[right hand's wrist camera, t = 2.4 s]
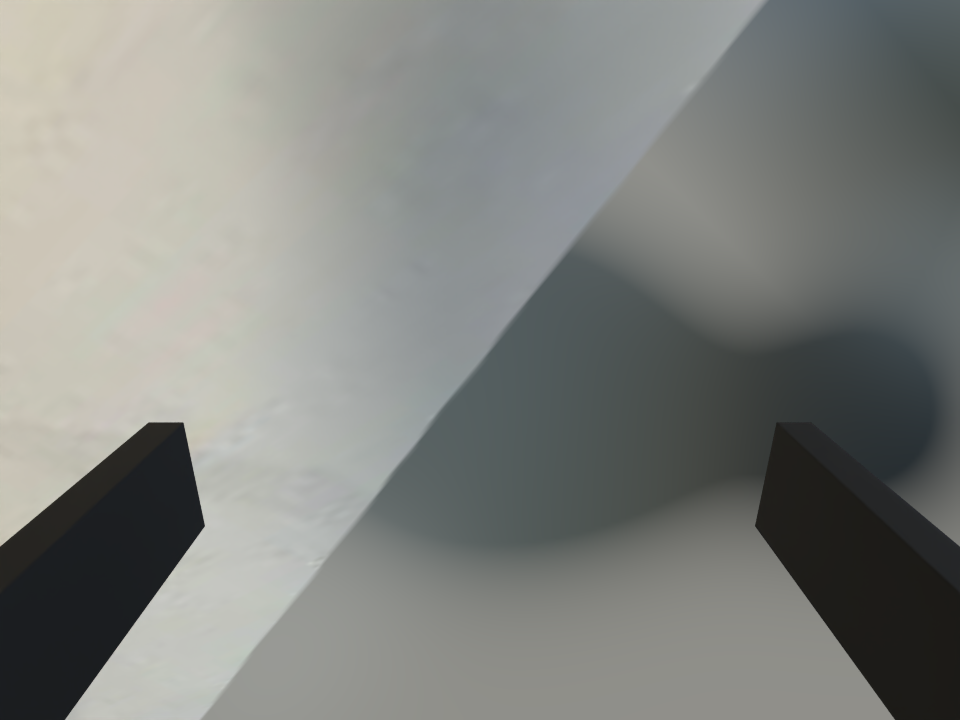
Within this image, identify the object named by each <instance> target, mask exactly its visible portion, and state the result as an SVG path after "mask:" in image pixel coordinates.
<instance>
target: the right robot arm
mask: <svg viewBox="0 0 960 720" xmlns="http://www.w3.org/2000/svg"><path fill="white" fill-rule="evenodd" d="M204 527H205V524H204V520H203V515H202V510H201V505H200V500H199V495H198V491H197V486H196V481H195V476H194V471H193V467H192V462H191V457H190V452H189V447H188V442H187V438H186V433H185V428H184V423H148V424H146V425H145V426H144V427H143V428H142V429H140V430H139V431H138V432H137V433H136V434H134V435H133V436H132V437H131V438H130V439H128V440H127V441H126V442H125V443H124V444H122V445H121V446H120V447H119V448H118V449H117V450H115V451H114V452H113V453H112V454H111V455H109V456H108V457H107V458H106V459H105V460H103V461H102V462H101V463H100V464H99V465H97V466H96V467H95V468H94V469H93V470H91V471H90V472H89V473H88V474H87V475H85V476H84V477H83V478H82V479H81V480H79V481H78V482H77V483H76V484H75V485H73V486H72V487H71V488H70V489H69V490H67V491H66V492H65V493H64V494H63V495H61V496H60V497H59V498H58V499H57V500H56V501H54V502H53V503H52V504H51V505H50V506H48V507H47V508H46V509H45V510H44V511H42V512H41V513H40V514H39V515H38V516H36V517H35V518H34V519H33V520H32V521H30V522H29V523H28V524H27V525H26V526H24V527H23V528H22V529H21V530H20V531H18V532H17V533H16V534H15V535H14V536H12V537H11V538H10V539H9V540H8V541H6V542H5V543H4V544H3V545H2V546H0V720H65V719H66V717H67V716H68V715H69V713H70V712H71V711H72V709H73V708H74V706H75V705H76V704H77V702H78V701H79V699H80V698H81V697H82V695H83V694H84V693H85V691H86V690H87V688H88V687H89V686H90V684H91V683H92V681H93V680H94V679H95V677H96V676H97V675H98V673H99V672H100V670H101V669H102V668H103V666H104V665H105V663H106V662H107V661H108V659H109V658H110V657H111V655H112V654H113V652H114V651H115V650H116V648H117V647H118V646H119V644H120V643H121V641H122V640H123V639H124V637H125V636H126V634H127V633H128V632H129V630H130V629H131V628H132V626H133V625H134V623H135V622H136V621H137V619H138V618H139V616H140V615H141V614H142V612H143V611H144V610H145V608H146V607H147V605H148V604H149V603H150V601H151V600H152V599H153V597H154V596H155V594H156V593H157V592H158V590H159V589H160V587H161V586H162V585H163V583H164V582H165V581H166V579H167V578H168V576H169V575H170V574H171V572H172V571H173V569H174V568H175V567H176V565H177V564H178V563H179V561H180V560H181V558H182V557H183V556H184V554H185V553H186V551H187V550H188V549H189V547H190V546H191V545H192V543H193V542H194V540H195V539H196V538H197V536H198V535H199V534H200V532H201V531H202V529H203V528H204ZM755 527H756V528H757V529H758V531H759V532H760V534H761V535H762V536H763V538H764V539H765V540H766V542H767V543H768V544H769V546H770V547H771V549H772V550H773V551H774V553H775V554H776V556H777V557H778V558H779V560H780V561H781V563H782V564H783V565H784V567H785V568H786V569H787V571H788V572H789V574H790V575H791V576H792V578H793V579H794V580H795V582H796V583H797V585H798V586H799V587H800V589H801V590H802V592H803V593H804V594H805V596H806V597H807V599H808V600H809V601H810V603H811V604H812V605H813V607H814V608H815V610H816V611H817V612H818V614H819V615H820V616H821V618H822V619H823V621H824V622H825V623H826V625H827V626H828V628H829V629H830V630H831V632H832V633H833V634H834V636H835V637H836V639H837V640H838V641H839V643H840V644H841V646H842V647H843V648H844V650H845V651H846V652H847V654H848V655H849V657H850V658H851V659H852V661H853V662H854V663H855V665H856V666H857V668H858V669H859V670H860V672H861V673H862V675H863V676H864V677H865V679H866V680H867V681H868V683H869V684H870V686H871V687H872V688H873V690H874V691H875V693H876V694H877V695H878V697H879V698H880V699H881V701H882V702H883V704H884V705H885V706H886V708H887V709H888V711H889V712H890V713H891V715H892V716H893V717H894V719H895V720H960V547H959V546H958V545H957V544H956V543H955V542H954V541H952V540H951V539H950V538H949V537H947V536H946V535H945V534H944V533H943V532H942V531H940V530H939V529H938V528H937V527H936V526H934V525H933V524H932V523H931V522H930V521H928V520H927V519H926V518H925V517H924V516H922V515H921V514H920V513H919V512H918V511H916V510H915V509H914V508H913V507H912V506H910V505H909V504H908V503H907V502H906V501H904V500H903V499H902V498H901V497H900V496H899V495H897V494H896V493H895V492H894V491H893V490H891V489H890V488H889V487H888V486H886V485H885V484H884V483H883V482H882V481H881V480H879V479H878V478H877V477H876V476H875V475H873V474H872V473H871V472H870V471H869V470H867V469H866V468H865V467H864V466H863V465H861V464H860V463H859V462H858V461H857V460H855V459H854V458H853V457H852V456H851V455H849V454H848V453H847V452H846V451H845V450H843V449H842V448H841V447H840V446H839V445H838V444H836V443H835V442H834V441H833V440H831V439H830V438H829V437H828V436H827V435H826V434H824V433H823V432H822V431H821V430H819V429H818V428H817V427H816V426H815V425H814V424H812V423H776V428H775V433H774V438H773V443H772V448H771V452H770V457H769V462H768V466H767V471H766V476H765V481H764V486H763V491H762V495H761V500H760V505H759V510H758V515H757V519H756V524H755Z"/></svg>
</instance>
